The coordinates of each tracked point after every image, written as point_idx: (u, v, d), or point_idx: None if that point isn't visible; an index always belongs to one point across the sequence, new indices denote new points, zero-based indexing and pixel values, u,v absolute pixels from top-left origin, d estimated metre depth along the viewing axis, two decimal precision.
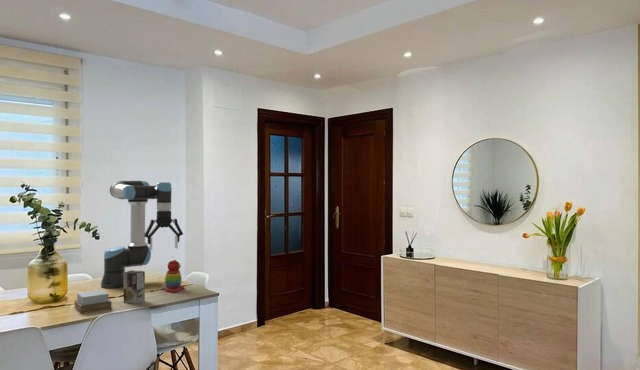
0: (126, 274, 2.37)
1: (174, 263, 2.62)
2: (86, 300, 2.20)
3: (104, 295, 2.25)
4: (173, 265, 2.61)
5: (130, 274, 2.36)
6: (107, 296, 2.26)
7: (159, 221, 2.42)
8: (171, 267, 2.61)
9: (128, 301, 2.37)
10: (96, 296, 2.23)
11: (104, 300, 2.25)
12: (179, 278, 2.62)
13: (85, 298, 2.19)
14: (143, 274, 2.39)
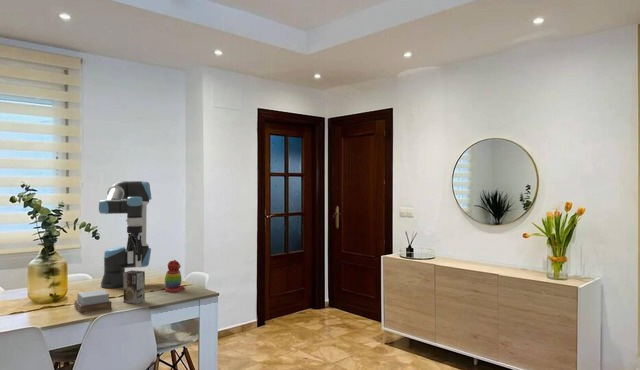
0: (126, 274, 2.37)
1: (174, 263, 2.62)
2: (86, 301, 2.19)
3: (104, 295, 2.25)
4: (173, 265, 2.61)
5: (130, 274, 2.36)
6: (107, 296, 2.26)
7: None
8: (171, 267, 2.61)
9: (128, 301, 2.37)
10: (96, 296, 2.22)
11: (104, 300, 2.25)
12: (179, 278, 2.62)
13: (85, 298, 2.19)
14: (143, 274, 2.39)
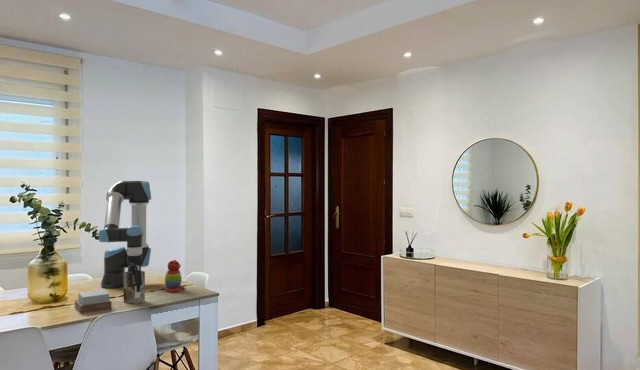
0: (126, 274, 2.37)
1: (174, 263, 2.62)
2: (86, 300, 2.20)
3: (104, 295, 2.25)
4: (173, 265, 2.61)
5: (130, 274, 2.36)
6: (107, 296, 2.25)
7: None
8: (171, 267, 2.61)
9: (128, 301, 2.37)
10: (96, 296, 2.22)
11: (104, 300, 2.25)
12: (179, 278, 2.62)
13: (85, 298, 2.19)
14: (143, 274, 2.39)
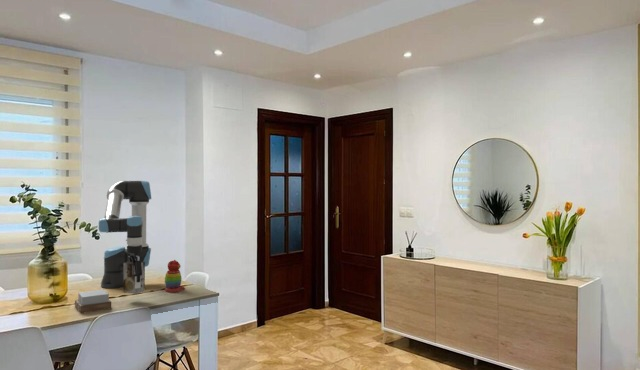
0: (126, 264, 2.37)
1: (174, 263, 2.62)
2: (85, 300, 2.20)
3: (104, 295, 2.25)
4: (173, 265, 2.61)
5: (130, 264, 2.36)
6: (107, 296, 2.25)
7: (130, 255, 2.40)
8: (171, 267, 2.61)
9: (128, 291, 2.37)
10: (96, 296, 2.22)
11: (104, 300, 2.25)
12: (179, 278, 2.62)
13: (85, 298, 2.19)
14: (143, 264, 2.40)
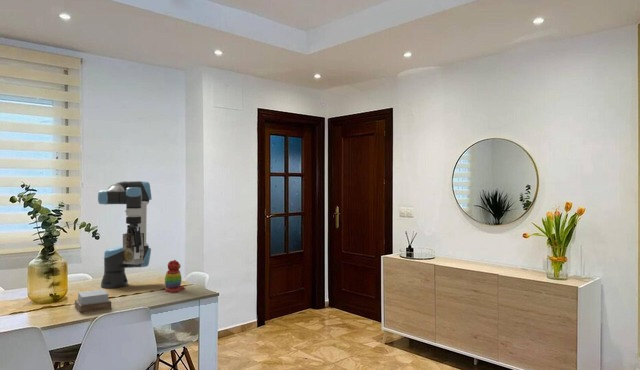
0: (125, 235, 2.36)
1: (174, 263, 2.62)
2: (85, 300, 2.20)
3: (104, 295, 2.25)
4: (173, 265, 2.61)
5: (129, 235, 2.35)
6: (107, 296, 2.25)
7: (129, 226, 2.40)
8: (171, 267, 2.61)
9: (127, 262, 2.36)
10: (96, 296, 2.22)
11: (104, 300, 2.25)
12: (179, 278, 2.62)
13: (84, 298, 2.20)
14: (142, 236, 2.39)
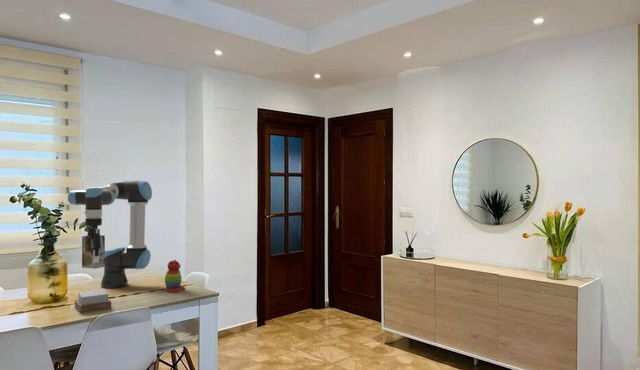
0: (84, 238, 2.25)
1: (174, 263, 2.62)
2: (85, 300, 2.20)
3: (104, 295, 2.25)
4: (173, 265, 2.61)
5: (88, 238, 2.24)
6: (107, 296, 2.25)
7: (89, 228, 2.28)
8: (171, 267, 2.61)
9: (86, 266, 2.24)
10: (95, 296, 2.23)
11: (104, 300, 2.25)
12: (179, 278, 2.62)
13: (84, 298, 2.20)
14: (103, 238, 2.27)
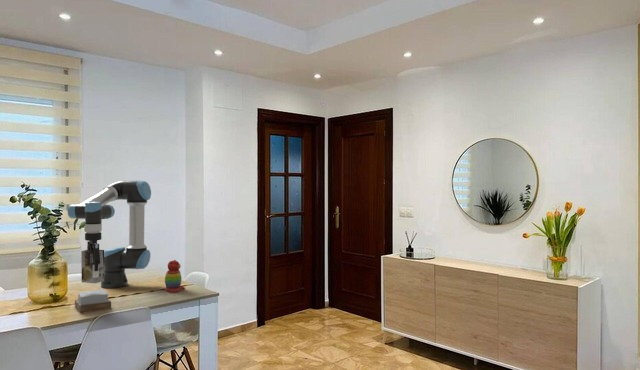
0: (84, 252, 2.25)
1: (174, 263, 2.62)
2: (84, 300, 2.20)
3: (103, 295, 2.24)
4: (173, 265, 2.61)
5: (88, 252, 2.24)
6: (106, 296, 2.25)
7: (89, 243, 2.28)
8: (171, 267, 2.61)
9: (86, 281, 2.24)
10: (95, 296, 2.22)
11: (103, 300, 2.24)
12: (179, 278, 2.62)
13: (84, 298, 2.19)
14: (102, 253, 2.27)
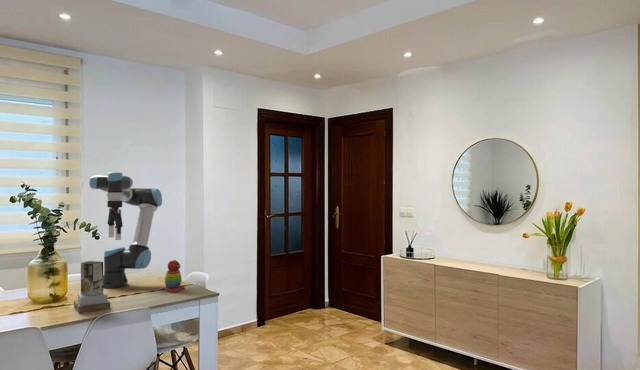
0: (83, 264, 2.25)
1: (174, 263, 2.62)
2: (84, 301, 2.20)
3: (103, 296, 2.24)
4: (173, 265, 2.61)
5: (87, 264, 2.24)
6: (106, 297, 2.25)
7: (111, 210, 2.48)
8: (171, 267, 2.61)
9: (85, 293, 2.25)
10: (94, 297, 2.22)
11: (103, 301, 2.24)
12: (179, 278, 2.62)
13: (83, 299, 2.19)
14: (101, 265, 2.27)
